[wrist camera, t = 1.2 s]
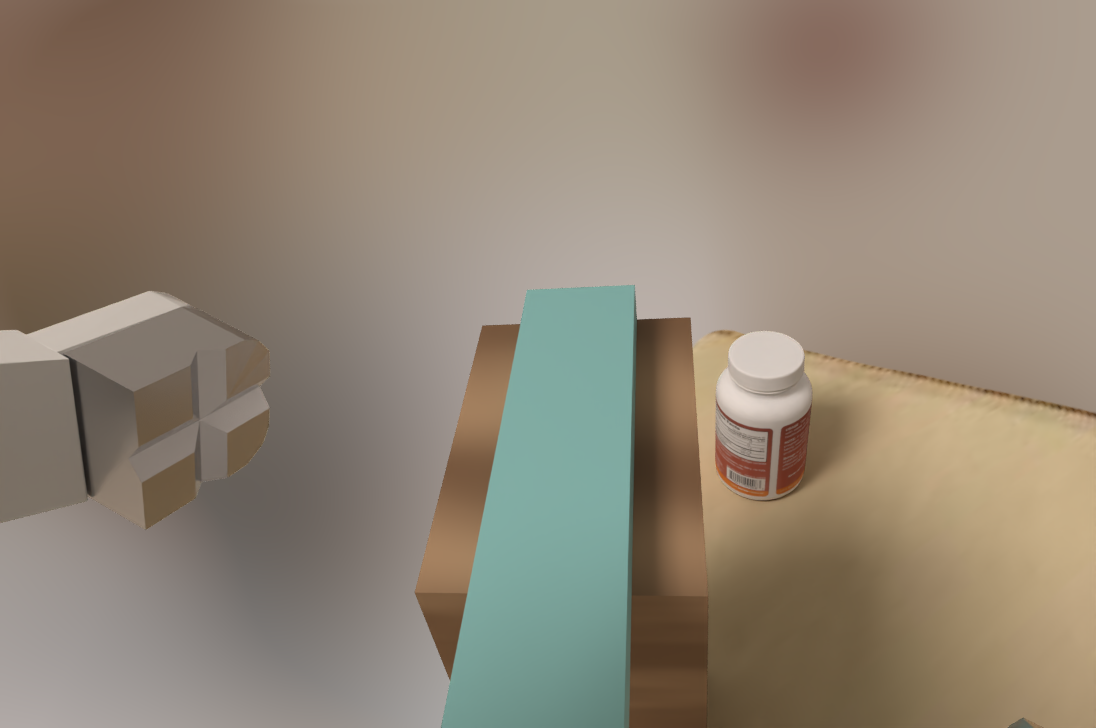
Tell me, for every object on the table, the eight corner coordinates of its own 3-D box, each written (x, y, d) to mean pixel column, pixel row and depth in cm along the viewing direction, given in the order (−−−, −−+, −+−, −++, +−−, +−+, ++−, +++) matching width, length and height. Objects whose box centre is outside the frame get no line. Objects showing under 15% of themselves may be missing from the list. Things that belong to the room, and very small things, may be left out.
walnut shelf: (715, 910, 38) (727, 596, 21) (527, 897, 39) (397, 592, 22) (702, 670, 47) (704, 316, 30) (550, 666, 48) (470, 326, 31)
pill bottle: (786, 433, 60) (798, 315, 53) (816, 495, 55) (834, 375, 48) (704, 446, 60) (705, 331, 53) (728, 510, 55) (732, 393, 48)
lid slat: (624, 960, 15) (619, 935, 14) (422, 943, 16) (403, 919, 15) (636, 319, 30) (634, 285, 29) (532, 323, 31) (527, 289, 30)
